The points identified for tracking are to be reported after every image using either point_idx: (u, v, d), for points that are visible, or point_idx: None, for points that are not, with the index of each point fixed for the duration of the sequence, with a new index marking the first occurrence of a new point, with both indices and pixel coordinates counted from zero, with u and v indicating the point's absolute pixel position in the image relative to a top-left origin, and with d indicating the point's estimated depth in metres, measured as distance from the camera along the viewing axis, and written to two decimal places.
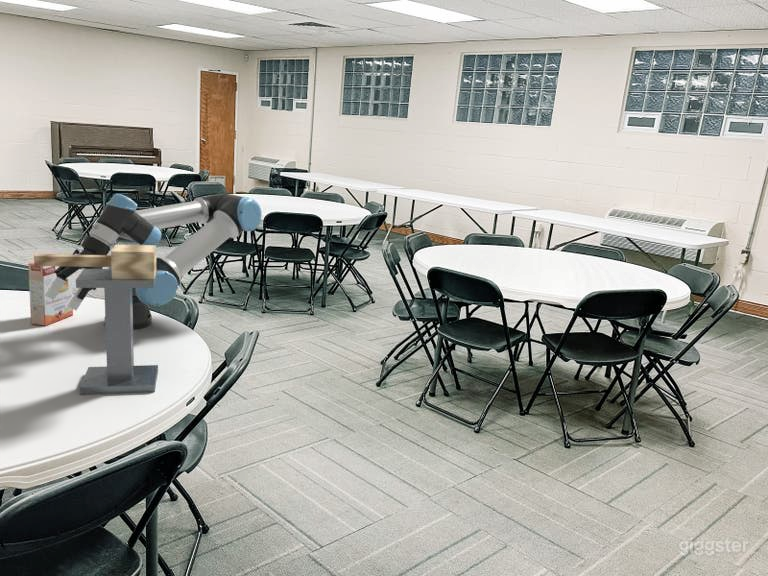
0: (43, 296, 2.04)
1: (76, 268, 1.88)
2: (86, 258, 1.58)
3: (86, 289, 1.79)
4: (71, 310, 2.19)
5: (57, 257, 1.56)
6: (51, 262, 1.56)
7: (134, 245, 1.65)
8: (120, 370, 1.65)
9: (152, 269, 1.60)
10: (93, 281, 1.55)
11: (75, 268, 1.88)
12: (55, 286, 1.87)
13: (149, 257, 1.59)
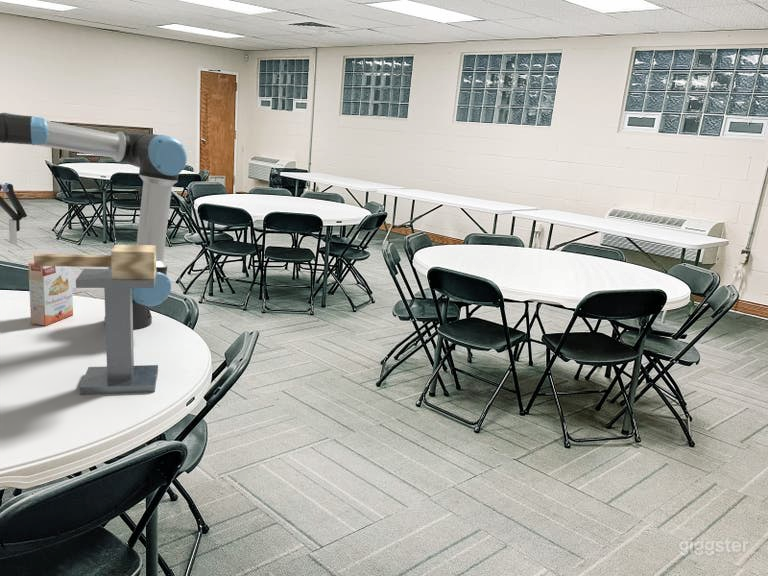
0: (43, 296, 2.04)
1: None
2: (86, 258, 1.58)
3: None
4: (71, 310, 2.19)
5: (57, 257, 1.56)
6: (51, 262, 1.56)
7: (134, 245, 1.65)
8: (120, 370, 1.65)
9: (152, 269, 1.60)
10: (93, 281, 1.55)
11: None
12: (10, 229, 1.73)
13: (149, 257, 1.59)
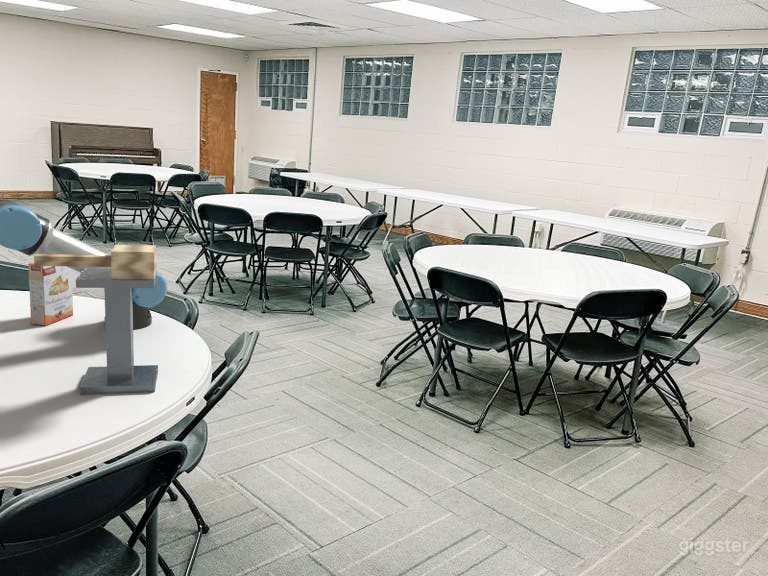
0: (43, 296, 2.04)
1: None
2: (86, 258, 1.58)
3: None
4: (71, 310, 2.19)
5: (57, 257, 1.56)
6: (51, 262, 1.56)
7: (134, 245, 1.65)
8: (120, 370, 1.65)
9: (152, 269, 1.60)
10: (93, 281, 1.55)
11: None
12: None
13: (149, 257, 1.59)
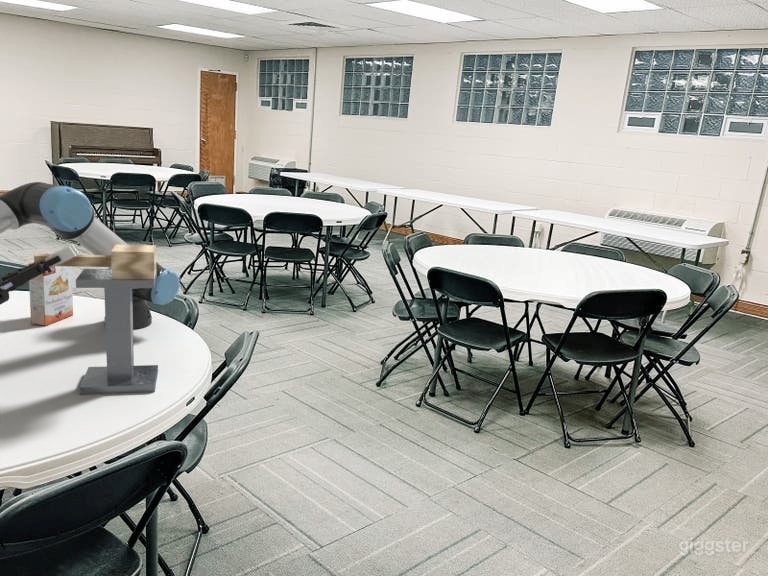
0: (43, 296, 2.04)
1: None
2: (86, 258, 1.58)
3: (47, 265, 1.54)
4: (71, 310, 2.19)
5: None
6: None
7: (134, 245, 1.65)
8: (120, 370, 1.65)
9: (152, 269, 1.60)
10: (93, 281, 1.55)
11: None
12: None
13: (149, 257, 1.59)
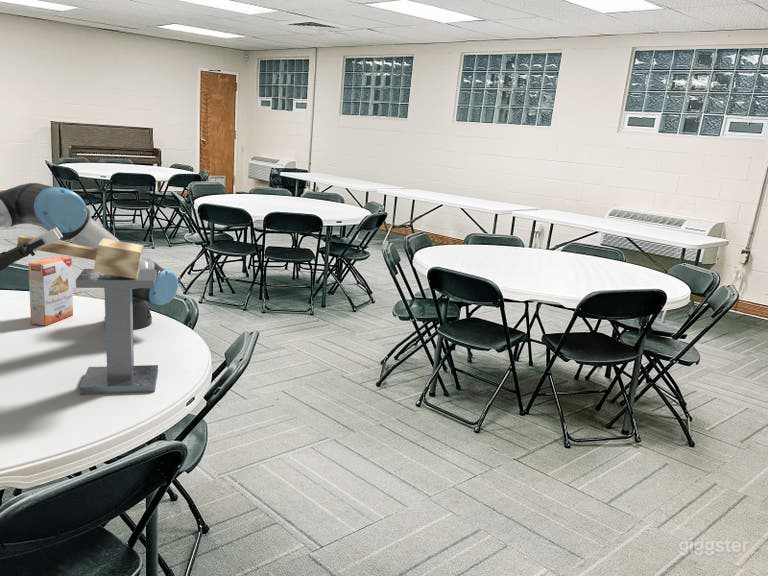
0: (43, 296, 2.04)
1: None
2: (71, 247, 1.56)
3: (30, 248, 1.52)
4: (71, 310, 2.19)
5: None
6: None
7: (121, 242, 1.64)
8: (120, 370, 1.65)
9: (136, 269, 1.58)
10: (93, 281, 1.55)
11: None
12: None
13: (135, 256, 1.58)
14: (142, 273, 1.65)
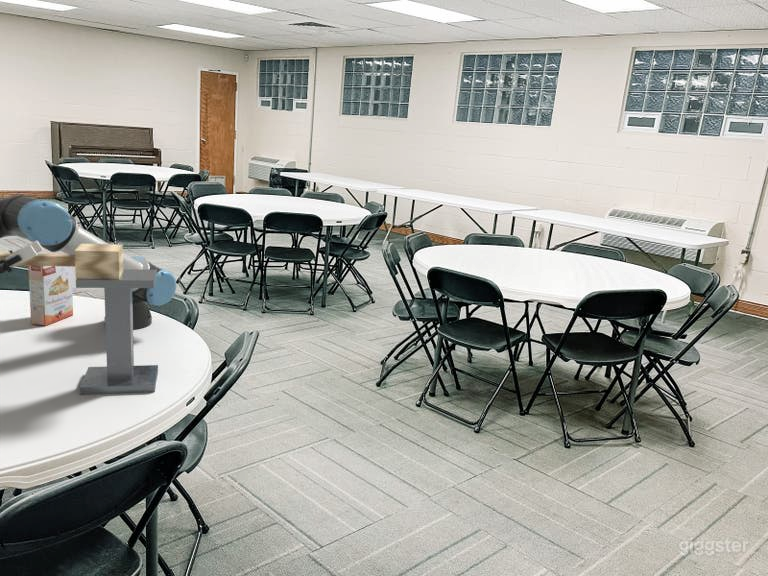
0: (43, 296, 2.04)
1: None
2: (50, 257, 1.55)
3: (7, 264, 1.50)
4: (71, 310, 2.19)
5: None
6: None
7: (100, 244, 1.62)
8: (120, 370, 1.65)
9: (117, 269, 1.57)
10: (93, 281, 1.55)
11: None
12: None
13: (114, 256, 1.56)
14: (142, 273, 1.65)
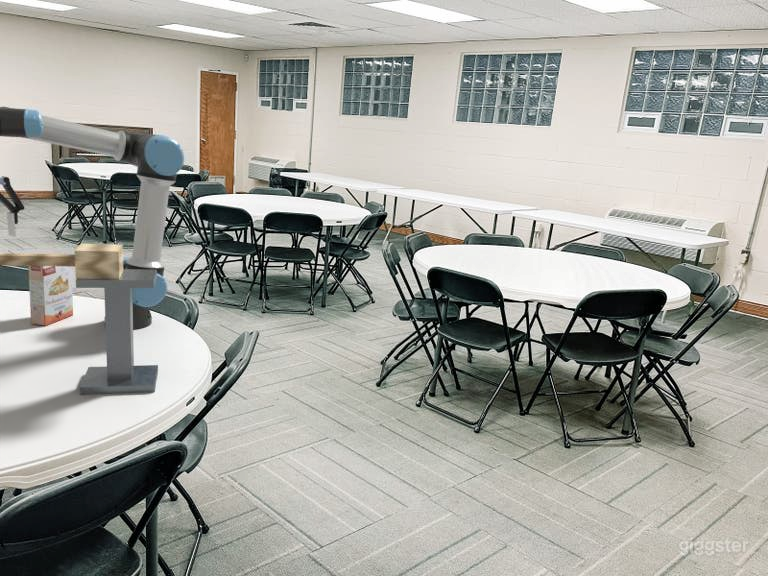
0: (43, 296, 2.04)
1: None
2: (50, 257, 1.55)
3: None
4: (71, 310, 2.19)
5: (20, 256, 1.53)
6: (14, 262, 1.53)
7: (100, 244, 1.62)
8: (120, 370, 1.65)
9: (117, 269, 1.57)
10: (93, 281, 1.55)
11: None
12: None
13: (114, 256, 1.56)
14: (142, 273, 1.65)
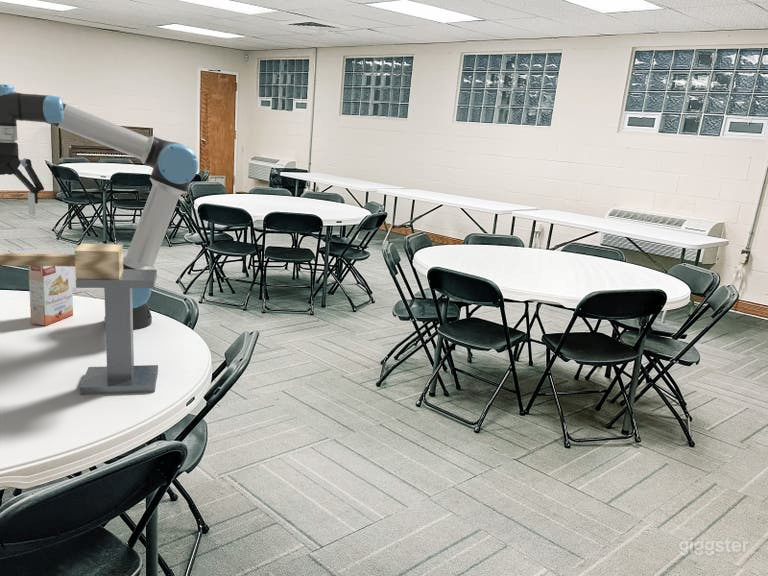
0: (43, 296, 2.04)
1: None
2: (50, 257, 1.55)
3: None
4: (71, 310, 2.19)
5: (20, 256, 1.53)
6: (14, 262, 1.53)
7: (100, 244, 1.62)
8: (120, 370, 1.65)
9: (117, 269, 1.57)
10: (93, 281, 1.55)
11: None
12: None
13: (114, 256, 1.56)
14: (142, 273, 1.65)
